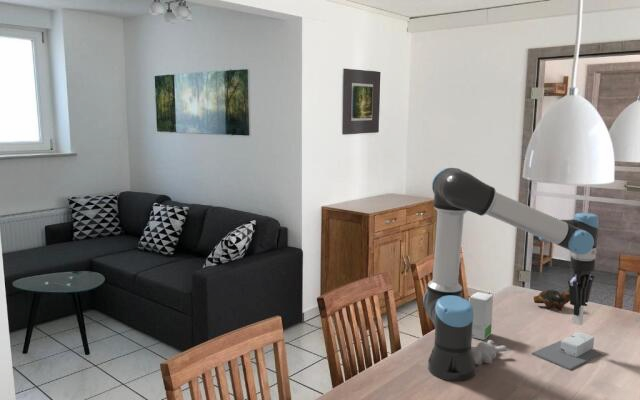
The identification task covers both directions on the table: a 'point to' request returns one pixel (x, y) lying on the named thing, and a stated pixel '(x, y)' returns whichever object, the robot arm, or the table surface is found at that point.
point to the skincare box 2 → (577, 344)
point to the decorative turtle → (553, 299)
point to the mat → (564, 356)
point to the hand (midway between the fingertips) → (577, 323)
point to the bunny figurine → (486, 352)
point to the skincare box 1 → (481, 315)
